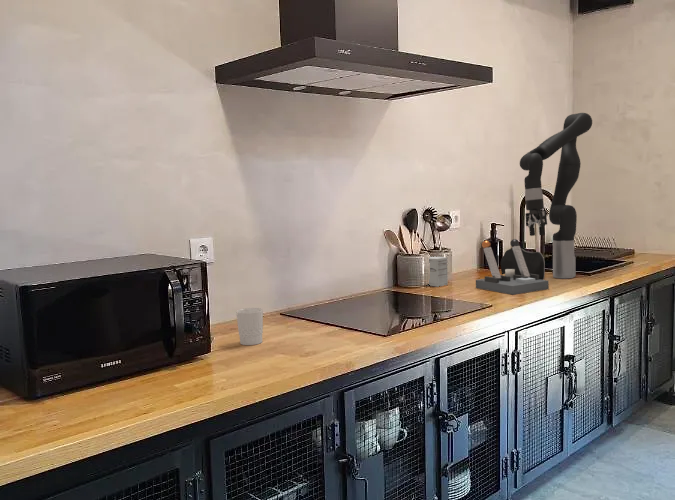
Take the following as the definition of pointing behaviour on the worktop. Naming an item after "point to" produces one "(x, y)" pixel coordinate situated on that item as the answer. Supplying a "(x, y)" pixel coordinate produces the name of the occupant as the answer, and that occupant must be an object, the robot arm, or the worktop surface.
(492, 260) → the lever
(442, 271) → the grey marked cylinder
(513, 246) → the lever
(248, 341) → the white cup
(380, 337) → the worktop surface
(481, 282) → the console
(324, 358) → the worktop surface
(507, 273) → the button
